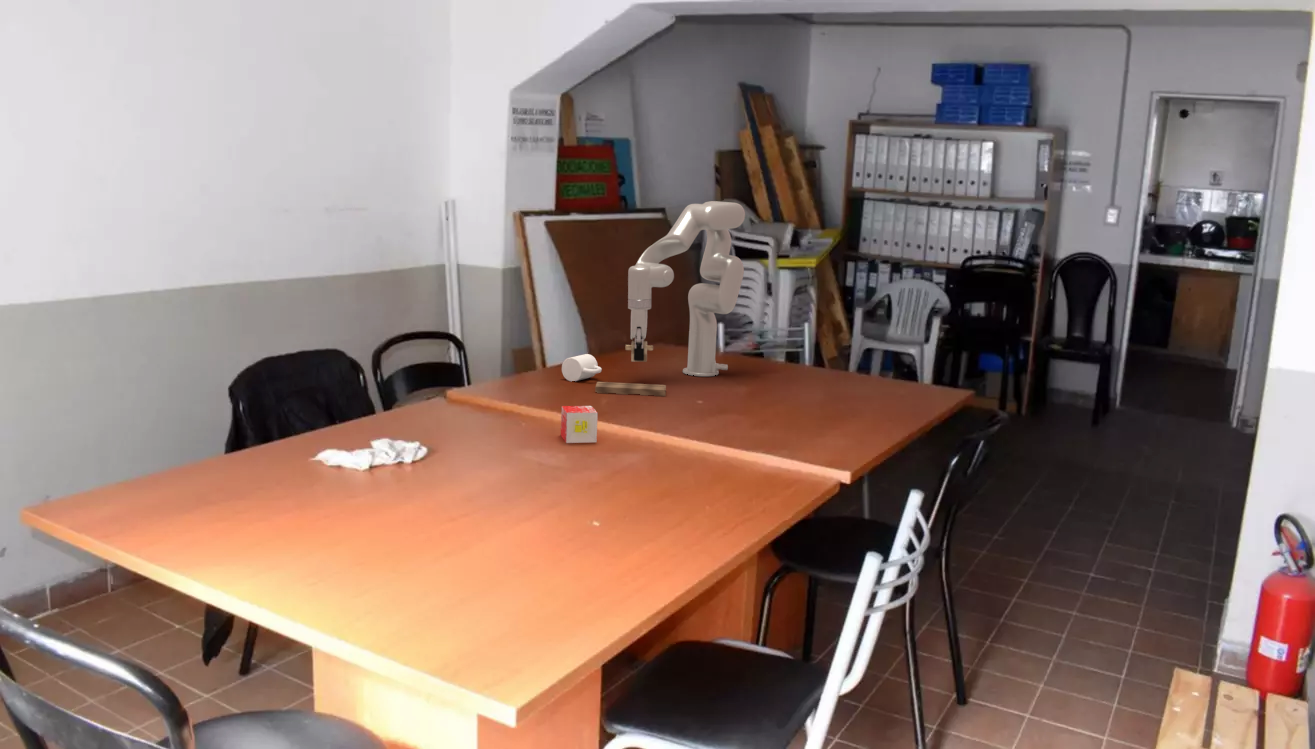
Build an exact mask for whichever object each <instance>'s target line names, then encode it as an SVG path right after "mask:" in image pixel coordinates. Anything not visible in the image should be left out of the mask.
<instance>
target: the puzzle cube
mask: <svg viewBox="0 0 1315 749" xmlns="http://www.w3.org/2000/svg"><path fill="white" fill-rule="evenodd" d="M560 413H561V414H560V420H561V421H560V436H561V438H562V439H563V441H564V442H565V443H566V444H575V443H576V444H577V443H578V444H579V443H597V438H598V435H597V434H598V412H597V411H596V409H595V408H594V407H593V406H592V405H562V406H561V412H560Z"/></svg>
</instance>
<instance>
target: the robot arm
mask: <svg viewBox="0 0 1315 749" xmlns="http://www.w3.org/2000/svg"><path fill="white" fill-rule="evenodd" d="M745 218H746V212H745V209H744V207H743V205H741V204H739V203H737V202H730V201H729V202H728V201H719V200H718V201H716V200H713V201H711V200H710V201H705V202H704V203H690V204H688V205H687V206H685V208H684V209H683V210H682V212H681V213H680V215H679V217H678V218H677V220H676V221H675V223H674V224H673V226H672V227H671V228H670V230H669V232H668V233H667V234H666V235H665V236H663V237H662V238H660V239H658V240H657V241H655V242H654V243H653V244H652V245H650V246H648V247H647V248H646V249H645V250H644V251H643V253H641V255H640V257H639V258H638V259H637V262H636V264H635V265H632V266H630V267H629V268H628V272H627V273H628V274H627V275H628V276H627V281H628V282H627V286H628V288H627V289H628V292H627V294H628V295H627V299H628V300H627V302H628V303H627V309H629V310H630V340H633V339H634V341H635V348H634V360H635V361H643V360H644V348H643V341H645V339H646V336H647V330H648V329H647V328H648V310H651V309H652V288H665V287H666V288H667V287H668V286H669V285H670V284H672V282H673V281H674V279H675V273H674V270H673V269H672V268H671V267H670V266H669V265H667V264H665V263H661V262H662V261H663V260H666V259H668V258H670V257H673V256H676V255H680V254H682V253H685V252H686V251H688V250H689V249H690V247H691V246H692V244H693V243H694V240H696V238H697V236H698V235H699V234H700V232H701V231H703V230H704V231H706V236H707V237H706V238H707V239H706V243H705V244H706V245H705V249H704V250H703V251H704V252H703V256H702V260H701V263H700V267H699V273H700V276H701V277H702V278H703V279H704V280H707V281H710V282H718V283H719V285H718V284H714V283H713V284H712V283H701V282H699V283H696V284H694V285H692V286H691V288H690V289H689V291H688V293H687V294H688V296H687V300H688V308H689V329H688V330H689V331H688V348H687V349H688V350H687V352H688V353H687V367H684V368H683V369H682V373H683V374H685V375H687V374H688V376H693V375H694V376H695V377H716V376H718V375H719V374H720V373H719V370H722V371H728V368H729V366H728V364H725V363H717V361H716V350H717V349H716V348H717V346H716V345H717V334H718V333H717V332H718V331H717V330H718V328H717V327H718V324H717V322H718V321H717V318H716V315H715V314H720V315H727V314H729V313H731V312H733V310H734V308H735V307H736V304H737V301H738V298H739V297H738V296H739V293H740V290H741V287H742V286H741V285H742V283H743V279H744V272H745V269H744V268H745V267H744V264H743V262H742V260H741V259H740V258H739V257H738V256H735V255H731V254H730V251H731V247H732V237H731V234H730V233H731V232H730V231H729V230H731V229H736V228H739V227H740V226H741V225H742V224H743V223H744V222H745ZM641 341H642V342H641ZM715 375H716V376H715ZM694 376H693V377H694Z"/></svg>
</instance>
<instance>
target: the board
mask: <svg viewBox="0 0 1315 749" xmlns="http://www.w3.org/2000/svg"><path fill="white" fill-rule="evenodd" d="M666 390H667V385H666V384H654V383H653V384H650V383H645V384H644V383H632V382H631V383H629V382H611V381H609V382H608V381H596V384H595V390H594V391H595V392H597V393H596V394H608V393H616V394H615V395H628V394H640V395H639V396H648V395H654V396H655V397H666ZM654 396H653V397H654Z"/></svg>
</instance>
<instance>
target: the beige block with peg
mask: <svg viewBox="0 0 1315 749" xmlns="http://www.w3.org/2000/svg"><path fill="white" fill-rule="evenodd" d="M641 342H642V341H641ZM634 348H635V340H632V341H631V344H625V351H630V352H631V354H630V358H631V360H630V361H631V362H633V363H634V362H635V363H636V362H637V363H638V362H642V363H645V362H646V363H647V361H648V351H654V345H651V344H650V345H648V340H644V341H643V348H644V360H643V361H635V360H634Z"/></svg>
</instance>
